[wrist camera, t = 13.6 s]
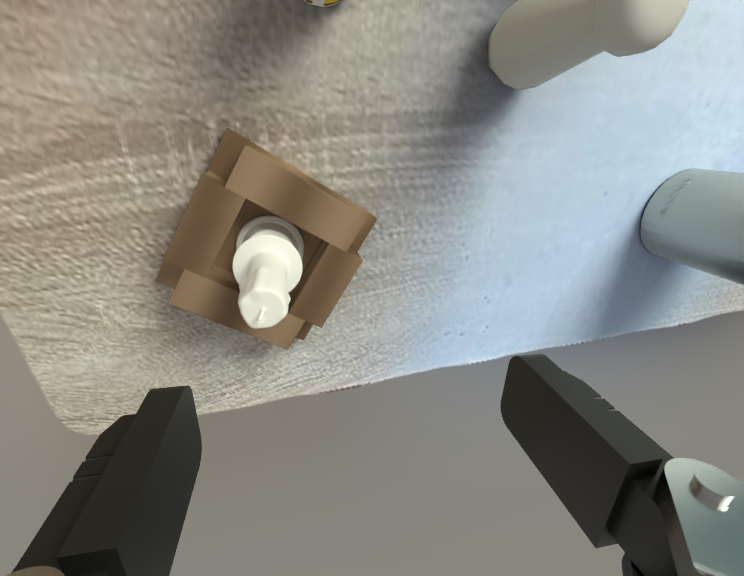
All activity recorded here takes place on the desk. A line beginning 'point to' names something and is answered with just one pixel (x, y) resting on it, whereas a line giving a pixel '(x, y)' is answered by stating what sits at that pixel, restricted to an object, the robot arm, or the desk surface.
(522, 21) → the salt shaker
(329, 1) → the supplement bottle
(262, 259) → the candle
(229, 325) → the wooden square tray
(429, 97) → the desk surface
